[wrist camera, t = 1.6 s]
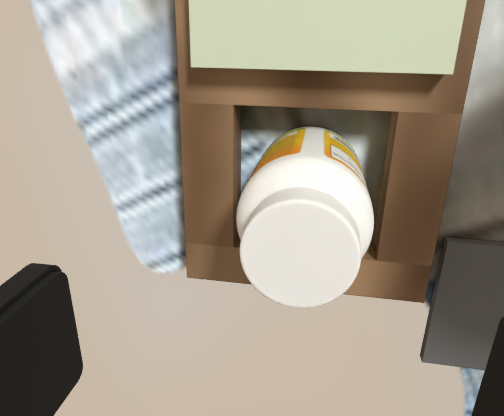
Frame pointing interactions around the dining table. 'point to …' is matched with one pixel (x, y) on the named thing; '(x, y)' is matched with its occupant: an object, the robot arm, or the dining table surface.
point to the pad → (465, 304)
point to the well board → (326, 97)
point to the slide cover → (327, 35)
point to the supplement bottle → (305, 219)
